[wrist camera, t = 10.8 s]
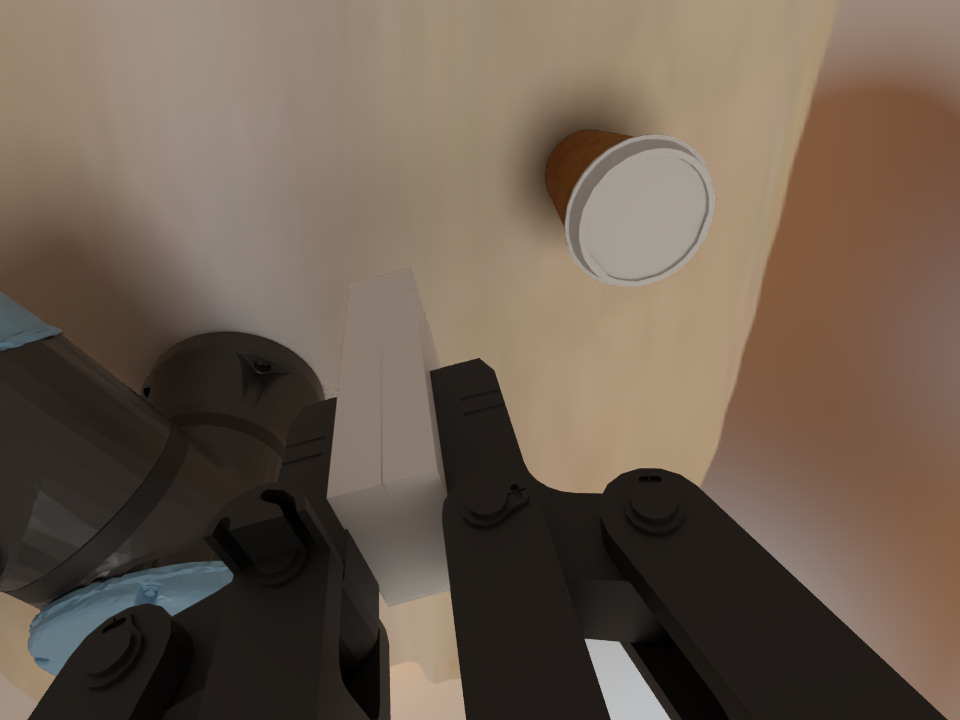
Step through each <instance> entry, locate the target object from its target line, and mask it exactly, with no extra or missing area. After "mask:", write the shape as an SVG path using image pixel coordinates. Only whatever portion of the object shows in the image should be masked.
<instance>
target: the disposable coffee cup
mask: <svg viewBox="0 0 960 720" xmlns="http://www.w3.org/2000/svg"><path fill="white" fill-rule="evenodd" d="M545 178H546V186H547V190H548V192H549V194H550V196H551V198H552V200H553V203H554V205H555V207H556V209H557V212H558V214H559V216H560V218H561V221H562V223H563V225H564V227H565V235H566V244H567V246H568V249H569V251H570V253H571V255H572V257H573V259H574V261H575V262H576V264H577V265H578V266H579V267H580V269H581V270H583V271H584V272H585V273H586V274H587V275H589V276H590V277H592V278H594V279H595V280H598V281H600V282H603V283H607V284H612V285H619V286H626V287H634V286H644V285H648V284H651V283H654V282H657V281H659V280H661V279H663V278H665V277H667V276H669V275H671V274H673V273H674V272H675V271H677V270H678V269H680V268H681V267H682V266H683V265H684V264H685V263H687V262H688V261H689V259H690V258H691V257H692V256H693V255H694V254H695V253H696V252H697V250H698V249H699V247H700V246H701V244H702V243H703V241H704V239H705V237H706V235H707V233H708V231H709V228H710V226H711V223H712V220H713V215H714V209H715V193H714V188H713V184H712V181H711V178H710V175H709V172H708V168H707V166H706V164H705V163H704V161H703V159H702V157H701V156H700V155H699V154H698V153H697V151H696V150H695V149H694V148H693V147H691V146H690V145H688V144H687V143H685V142H684V141H682V140H680V139H677V138H674V137H671V136H667V135H662V134H646V135H642V136H637V137H633V136H628V135H621V134H615V133H607V132H601V131H597V130H583V131H579V132H576V133H573V134H571V135H570V136H568V137H567V138H565V139H564V140H563V141H562V142H561V143H560V144H559V145H557V147H556V148H555V149H554V151H553V153H552V154H551V156H550V158H549V161H548V163H547V168H546V174H545Z"/></svg>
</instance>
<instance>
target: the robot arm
mask: <svg viewBox="0 0 960 720" xmlns="http://www.w3.org/2000/svg"><path fill="white" fill-rule="evenodd" d="M62 333H63V331H62V330H61V329H60V328H59V327H57V326H50V325H49V324H47V323H46V322H44V321H43V320H41V319H40V318H39V317H37V316H36V315H34V314H33V313H31V312H30V311H29V310H27V309H26V308H24V307H23V306H21V305H20V304H19V303H17V302H16V301H14V300H13V299H11V298H10V297H9V296H7V295H6V294H4V293H3V292H1V291H0V591H1V592H4V593H6V594H8V595H11V596H13V597H15V598H17V599H20V600H22V601H23V602H26V603H28V604H30V605H32V606H34V607H36V608H38V609H40V611H41V612H40V613H39V614H37V615H36V616H35V618H34V619H33V621H32V623H31V625H30V630H29V632H30V637H29V640H28V650H29V652H30V654H31V656H33V657H34V661H35V662H36V663H37V665H38V666H39V667H40V668H42V669H44V670H45V671H47V672H49V673H51V674H53V675H55V676H56V678H55V679H54V681H53V682H52V684H51V685H50V687H49V688H48V690H47V691H46V693H45V694H44V696H43V697H42V699H41V700H40V702H39V703H38V705H37V707H36V708H35V710H34V711H33V712H32V714H31V715H30V717H29V718H28V720H390V718H391V717H390V670H389V669H390V667H389V641H388V637H387V632H386V629H385V627H384V625H383V624H382V622H381V621H380V619H379V591H380V593H381V595H382V596H383V598H384V600H385V602H386V603H387V605H388V607H389V606H393V605H396V604H400V603H404V602H408V601H411V600H415V599H419V598H422V597H426V596H430V595H433V594H437V593H441V592H444V591H448V590H450V591H451V599H452V607H453V616H454V624H455V632H456V640H457V648H458V657H459V665H460V673H461V681H462V689H463V697H464V706H465V714H466V720H611V719H610V716H609V713H608V710H607V707H606V704H605V700H604V697H603V694H602V692H601V688H600V685H599V682H598V679H597V676H596V673H595V670H594V667H593V664H592V661H591V658H590V655H589V651H588V648H587V645H586V642H585V639H597V640H607V641H618V642H620V643H621V645H622V646H623V648H624V649H625V651H626V652H627V654H628V655H629V657H630V658H631V660H632V661H633V663H634V664H635V666H636V668H637V669H638V671H639V672H640V674H641V675H642V677H643V678H644V680H645V681H646V683H647V684H648V686H649V687H650V689H651V690H652V692H653V693H654V695H655V696H656V698H657V699H658V701H659V702H660V704H661V705H662V707H663V708H664V710H665V712H666V713H667V714H668V716H669V718H670V719H671V720H947V719H946V718H945V717H944V716H943V715H942V714H941V713H940V712H939V711H938V710H936V709H935V708H934V707H933V706H932V705H931V704H930V703H929V702H928V701H927V700H926V699H924V697H923V696H922V695H920V694H919V693H918V692H917V691H916V690H915V689H914V688H913V687H912V686H911V685H910V684H909V683H908V682H906V681H905V680H904V679H903V678H902V677H901V676H900V675H899V674H898V673H897V672H896V671H895V670H894V669H893V668H892V667H890V666H889V665H888V664H887V663H886V662H885V661H884V660H883V659H882V658H880V656H879V655H878V654H877V653H875V652H874V651H873V650H872V649H871V648H870V647H869V646H868V645H867V644H866V643H865V642H863V640H862V639H860V638H859V637H858V636H857V635H856V634H855V633H854V632H853V631H852V630H851V629H850V628H849V627H848V626H847V625H846V624H844V623H843V622H842V621H841V620H840V619H839V618H838V617H837V616H836V615H835V614H834V613H833V612H832V611H831V610H829V609H828V608H827V607H826V606H825V605H824V604H823V603H822V602H821V601H820V600H819V599H818V598H817V597H816V596H814V595H813V594H812V593H811V592H810V591H809V590H808V589H807V588H806V587H805V586H804V585H803V584H802V583H801V582H799V581H798V580H797V579H796V578H795V577H794V576H793V575H792V574H791V573H790V572H789V571H788V570H786V569H785V568H784V567H783V566H782V565H781V564H780V563H779V562H778V561H777V560H776V559H775V558H774V557H773V556H772V555H771V554H769V553H768V552H767V551H766V550H765V549H764V548H763V547H762V546H761V545H760V544H759V543H758V542H757V541H756V540H755V539H753V538H752V537H751V536H750V535H749V534H748V533H747V532H746V531H745V530H744V529H743V528H742V527H741V526H739V525H738V524H737V523H736V522H735V521H734V520H733V519H732V518H731V517H730V516H729V515H728V514H727V513H725V511H723V510H722V509H721V508H720V507H719V506H718V505H717V504H716V503H715V502H714V501H713V500H712V499H711V498H710V497H709V496H707V495H706V494H705V493H704V492H703V491H702V490H701V489H700V488H699V487H698V486H697V485H695V484H694V483H692V482H691V481H689V480H688V479H686V478H685V477H683V476H682V475H680V474H677V473H673V472H670V471H667V470H663V469H656V468H639V469H636V470H633V471H629V472H626V473H623V474H621V475H619V476H618V477H617V478H615V479H614V480H613V481H612V482H610V483H609V484H608V485H607V487H606V488H605V490H604V492H603V494H599V493H571V492H562V491H559V490H556V489H553V488H550V487H547V486H546V485H544V484H542V483H541V482H539V481H537V480H536V479H535V478H534V477H533V476H532V475H531V474H530V473H529V471H528V469H527V467H526V465H525V463H524V461H523V458H522V455H521V451H520V448H519V445H518V442H517V439H516V436H515V433H514V430H513V427H512V424H511V421H510V417H509V414H508V411H507V408H506V406H505V402H504V399H503V396H502V393H501V390H500V387H499V384H498V380H497V377H496V374H495V371H494V370H493V369H492V368H491V367H489V366H488V365H487V364H486V363H485V362H483V361H482V360H481V359H480V358H477V359H474V360H470V361H466V362H462V363H458V364H454V365H451V366H447V367H443V368H440V363H439V358H438V355H437V352H436V348H435V345H434V342H433V338H432V335H431V332H430V329H429V325H428V322H427V319H426V315H425V312H424V309H423V305H422V302H421V299H420V296H419V292H418V289H417V286H416V282H415V279H414V276H413V273H412V269H411V268H408V269H404V270H400V271H396V272H393V273H389V274H385V275H381V276H377V277H373V278H369V279H365V280H361V281H358V282H354V283H350V284H349V291H348V301H347V310H346V320H345V329H344V339H343V348H342V358H341V367H340V377H339V386H338V396H337V397H335V398H331V399H328V400H325V398H324V393H323V389H322V387H321V384H320V382H319V380H318V378H317V377H316V375H315V374H314V372H313V371H312V370H311V368H310V367H309V366H308V365H307V364H306V363H305V362H304V361H303V360H302V359H301V358H299V357H298V356H297V355H296V354H294V353H293V352H291V351H290V350H288V349H286V348H285V347H283V346H281V345H279V344H277V343H275V342H272V341H270V340H267V339H264V338H261V337H257V336H253V335H248V334H242V333H229V332H222V333H210V334H204V335H200V336H196V337H192V338H190V339H187V340H185V341H182V342H180V343H179V344H177V345H175V346H173V347H172V348H170V349H169V350H168V351H167V352H165V353H164V354H163V355H162V356H161V357H160V359H159V360H158V361H157V362H156V364H155V365H154V367H153V369H152V370H151V372H150V373H149V375H148V377H147V378H146V380H145V382H144V384H143V387H142V390H141V394H140V396H139V395H138V394H137V393H136V392H134V391H133V390H132V389H130V388H129V387H128V386H127V385H125V384H124V383H123V382H121V381H120V380H119V379H118V378H116V377H115V376H114V375H112V374H111V373H110V372H109V371H107V370H106V369H105V368H103V367H102V366H101V365H100V364H98V363H97V362H96V361H95V360H93V359H92V358H91V357H89V356H88V355H87V354H86V353H84V352H83V351H82V350H80V349H79V348H78V347H77V346H75V345H74V344H73V343H72V342H70V341H69V340H68V339H67V338H65V337H64V336H63V335H62ZM584 638H585V639H584Z"/></svg>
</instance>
